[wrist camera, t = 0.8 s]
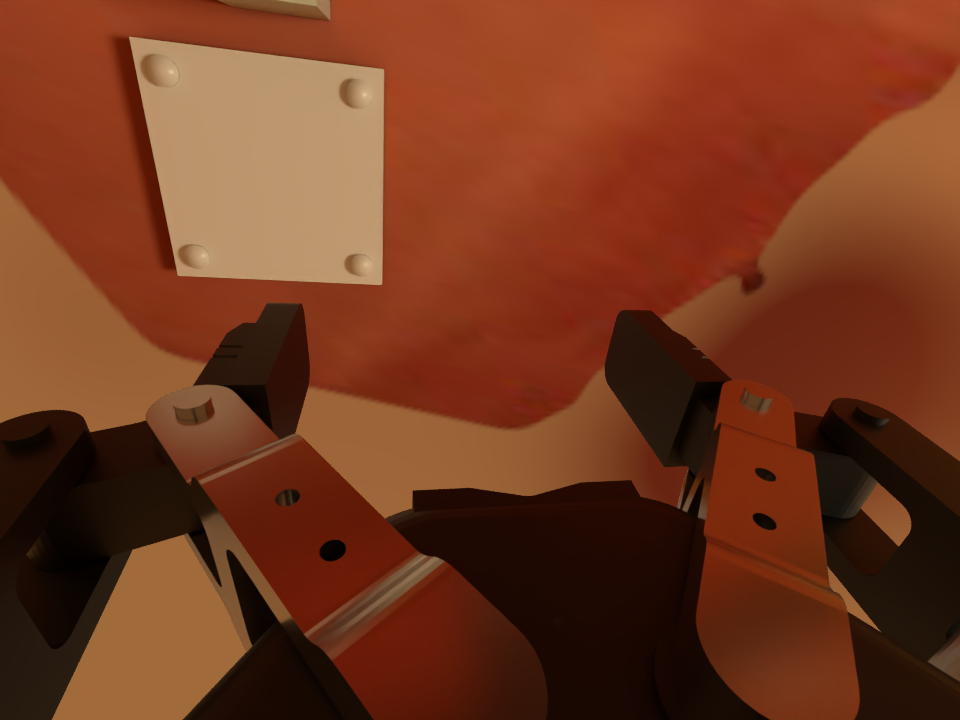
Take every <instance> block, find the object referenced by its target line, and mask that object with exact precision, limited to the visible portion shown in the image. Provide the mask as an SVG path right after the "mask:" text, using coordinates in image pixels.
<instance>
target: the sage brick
mask: <svg viewBox="0 0 960 720" xmlns="http://www.w3.org/2000/svg"><path fill="white" fill-rule="evenodd" d="M219 1H221V2H223V3H225V4H227V5H229V6H231V7H238V8H245V9H252V10H259V11H266V12H273V13H280V14H287V15H294V16H301V17H308V18H315V19H322V20H329V21H331V20H330V0H219Z"/></svg>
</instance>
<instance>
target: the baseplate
mask: <svg viewBox="0 0 960 720" xmlns="http://www.w3.org/2000/svg"><path fill="white" fill-rule="evenodd" d="M129 39H130V44H131V49H132V54H133V59H134V63H135V68H136V73H137V78H138V83H139V88H140V93H141V98H142V102H143V107H144V112H145V117H146V122H147V127H148V132H149V137H150V142H151V146H152V151H153V156H154V161H155V166H156V171H157V176H158V181H159V185H160V190H161V195H162V200H163V205H164V210H165V215H166V220H167V225H168V229H169V234H170V239H171V244H172V249H173V254H174V259H175V264H176V268H177V273H178V276H197V277H219V278H241V279H263V280H285V281H307V282H329V283H351V284H374V285H382V258H383V142H384V69H378V68H370V67H362V66H354V65H346V64H338V63H331V62H323V61H315V60H307V59H299V58H292V57H284V56H276V55H268V54H260V53H252V52H245V51H237V50H229V49H221V48H213V47H205V46H198V45H190V44H182V43H174V42H166V41H159V40H151V39H143V38H135V37H129Z"/></svg>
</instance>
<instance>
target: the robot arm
mask: <svg viewBox="0 0 960 720" xmlns="http://www.w3.org/2000/svg"><path fill="white" fill-rule="evenodd" d="M309 377H310V363H309V353H308V343H307V334H306V325H305V316H304V309H303V306H302V304H300V303H267V304H266V306H265V308H264V310H263V312H262V313H261V315H260V317H259V319H258V320H257V322H256V323H243V324H241V325H239V326H238V327H236V328H235V329H233V330H231V331H230V332H228V333H227V334H226V336H225V337H224V339H223V340H222V342H221V343H220V345H219V348H217V350H216V351H215V353H214V354H213V358H211V359H210V360H209V362H208V363H207V365H206V366H205V368H204V370H203V371H202V373H201V374H200V376H199V377H198V379H197V380H196V382H195V383H194V385H193V386H191V387H186V388H182V389H179V390H176V391H173V392H171V393H169V394H167V395H165V396H163V397H161V398H160V399H158V400H157V401H155V402H154V403H153V404H152V405H151V406H150V408H149V409H148V411H147V413H146V421H143V422H139V423H135V424H131V425H125V426H120V427H115V428H110V429H105V430H100V431H95V432H90V431H89V429H88V426H87V424H86V422H85V420H84V418H83V417H82V416H81V415H79V414H77V413H75V412H71V411H65V410H49V411H40V412H34V413H30V414H26V415H22V416H19V417H16V418H13V419H10V420H7V421H4V422H2V423H0V720H52V718H53V716H54V714H55V711H56V709H57V707H58V705H59V703H60V701H61V699H62V697H63V695H64V693H65V691H66V688H67V686H68V684H69V682H70V680H71V678H72V676H73V673H74V672H75V670H76V667H77V665H78V663H79V661H80V659H81V657H82V655H83V653H84V650H85V648H86V646H87V644H88V642H89V640H90V638H91V636H92V634H93V632H94V630H95V628H96V625H97V623H98V621H99V619H100V617H101V615H102V613H103V611H104V609H105V606H106V604H107V602H108V600H109V598H110V596H111V594H112V592H113V590H114V588H115V585H116V583H117V581H118V579H119V577H120V575H121V573H122V571H123V569H124V567H125V564H126V562H127V560H128V558H129V556H130V554H131V552H132V550H133V549H136V548H140V547H143V546H146V545H150V544H153V543H157V542H160V541H163V540H166V539H170V538H174V537H177V536H180V535H184V536H185V538H186V540H187V542H188V543H189V545H190V547H191V548H192V550H193V552H194V553H195V555H196V557H197V559H198V560H199V562H200V564H201V565H202V567H203V569H204V571H205V572H206V574H207V576H208V577H209V579H210V581H211V582H212V584H213V586H214V587H215V589H216V591H217V593H218V594H219V596H220V598H221V599H222V601H223V603H224V605H225V607H226V609H227V611H228V613H229V615H230V617H231V620H232V622H233V625H234V627H235V629H236V632H237V634H238V636H239V638H240V640H241V642H242V644H243V646H244V648H245V650H246V653H245V654H244V656H243V657H241V659H240V660H239V661H238V662H237V663H236V664H235V665H234V666H233V667H232V668H231V669H230V670H229V671H228V672H227V674H226V675H225V676H224V677H223V678H222V679H221V680H220V681H219V682H218V683H217V684H216V685H215V686H214V687H213V688H212V689H211V690H210V691H209V692H208V694H207V695H206V696H205V697H204V698H203V699H202V700H201V701H200V702H199V703H198V704H197V705H196V706H195V707H194V708H193V709H192V710H191V712H190V713H189V714H188V715H187V716H186V717H185V718H184V719H183V720H960V461H958V460H957V459H956V458H954V457H953V456H951V455H950V454H949V453H947V452H946V451H945V450H943V449H942V448H940V447H939V446H937V445H936V444H935V443H934V442H932V441H931V440H929V439H928V438H927V437H925V436H924V435H922V434H921V433H920V432H918V431H917V430H916V429H914V428H913V427H911V426H910V425H909V424H907V423H906V422H905V421H903V420H902V419H900V418H899V417H898V416H896V415H895V414H893V413H891V412H889V411H887V410H885V409H883V408H881V407H879V406H876V405H874V404H871V403H868V402H865V401H861V400H857V399H851V398H838V399H835V400H833V401H832V402H831V404H830V405H829V407H828V409H827V411H826V413H825V414H824V416H823V417H821V416H816V415H810V414H804V413H798V412H794V408H793V405H792V404H791V402H790V401H789V400H788V399H787V398H786V397H785V396H783V395H782V394H780V393H779V392H777V391H775V390H774V389H771V388H769V387H767V386H765V385H762V384H759V383H755V382H751V381H746V380H732V379H731V378H730V377H728V376H727V375H726V374H725V373H724V372H723V371H722V370H721V369H720V368H719V367H717V366H716V365H715V364H714V363H713V362H712V361H711V360H710V359H707V358H706V356H705V355H704V354H703V353H702V352H701V351H700V350H697V347H696V346H695V345H693V344H692V343H691V342H690V341H689V340H688V339H687V338H686V337H684V336H682V335H680V334H678V333H676V332H674V331H673V330H672V329H671V328H669V327H668V326H667V325H666V324H665V323H664V322H663V321H662V320H661V319H660V318H659V317H658V316H657V315H656V314H654V313H653V312H652V311H650V310H622V311H621V312H620V313H619V314H618V316H617V318H616V322H615V326H614V330H613V334H612V338H611V342H610V346H609V349H608V353H607V357H606V362H605V377H606V381H607V383H608V385H609V387H610V388H611V389H612V391H613V392H614V394H615V395H616V397H617V398H618V399H619V401H620V402H621V404H622V406H623V407H624V409H625V410H626V411H627V413H628V414H629V416H630V417H631V419H632V420H633V422H634V423H635V424H636V426H637V428H638V429H639V430H640V432H641V433H642V435H643V436H644V438H645V439H646V441H647V442H648V444H649V445H650V446H651V448H652V449H653V451H654V453H655V454H656V455H657V457H658V458H659V460H660V461H661V463H662V464H663V466H664V467H674V466H688V467H689V469H688V472H687V474H686V476H685V479H684V482H683V486H682V490H681V494H680V498H679V503H678V507H677V508H676V507H674V506H671V505H669V504H666V503H663V502H660V501H656V500H652V499H648V498H643V497H640V495H639V493H638V492H637V490H636V488H635V486H634V485H633V483H632V481H631V480H626V481H605V482H584V483H578V484H574V485H570V486H567V487H563V488H560V489H556V490H552V491H549V492H545V493H542V494H538V495H534V496H521V495H514V494H508V493H500V492H494V491H487V490H480V489H474V488H460V489H459V488H458V489H437V490H416V491H413V500H412V501H413V502H412V509H409V510H406V511H402V512H400V513H397V514H394V515H392V516H389V517H387V518H384V517H383V516H382V515H381V514H380V513H378V511H376V510H375V509H374V508H373V507H372V506H371V505H370V504H369V503H368V502H367V501H366V500H365V499H364V498H363V497H362V496H361V495H360V494H359V493H358V492H357V491H356V490H355V489H354V488H353V487H352V486H351V485H350V484H349V483H348V482H347V481H346V480H345V479H344V478H343V477H342V476H341V475H340V474H339V473H338V472H337V471H336V470H335V469H334V468H333V467H332V466H331V465H330V464H329V463H328V462H327V461H326V460H325V459H324V458H323V457H322V456H321V455H320V454H319V453H318V452H317V451H316V450H315V449H314V448H313V447H312V446H311V445H310V444H309V443H308V442H306V440H305V439H304V438H302V437H301V436H300V435H298V434H296V433H295V432H296V429H297V425H298V421H299V418H300V414H301V411H302V407H303V404H304V400H305V396H306V393H307V389H308V385H309ZM877 483H879V484H880V485H882V486H883V487H884V488H885V489H886V490H887V491H888V492H889V493H890V494H891V495H893V496H894V497H895V498H896V499H897V500H898V501H899V502H900V503H901V504H902V505H903V506H904V507H905V508H906V509H907V511H908V513H909V515H910V518H911V525H912V526H911V531H910V533H909V535H908V536H907V537H906V538H905V540H904V541H903V542H902V544H901V545H900V546H899V547H898V546H897V545H896V544H895V543H894V542H893V540H892V539H890V537H889V536H888V535H887V534H886V533H884V532H883V531H882V530H881V529H880V527H879V526H878V525H876V523H875V522H874V521H872V519H871V518H870V517H869V516H868V515H867V514H865V512H864V511H863V510H862V509H861V507H862V505H863V504H864V502H865V501H866V500H867V498H868V497H869V495H870V494H871V492H872V491H873V489H874V488H875V486H876V485H877ZM827 566H828V567H829V568H830V570H831V571H832V572H833V573H834V574H835V576H836V577H837V578H838V579H839V581H840V582H841V583H842V584H843V586H844V587H845V588H846V589H847V591H848V592H849V593H850V594H851V595H852V597H853V598H854V599H855V600H856V602H857V603H858V604H859V605H860V607H861V608H862V609H863V610H864V612H865V613H866V614H867V615H868V616H869V618H870V619H871V620H872V621H873V623H874V624H875V625H876V626H877V628H878V629H879V630H880V631H881V632H880V631H878V630H876V629H875V628H873V627H872V626H870V625H868V624H867V623H865V622H864V621H862V620H860V619H859V618H857V617H856V616H854V615H852V614H851V613H849V612H848V611H847V607H846V604H845V601H844V599H843V598H842V596H841V595H840V594H838V593H836V592H834V591H833V590H832V589H831V586H830V583H829V576H828V567H827Z"/></svg>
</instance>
